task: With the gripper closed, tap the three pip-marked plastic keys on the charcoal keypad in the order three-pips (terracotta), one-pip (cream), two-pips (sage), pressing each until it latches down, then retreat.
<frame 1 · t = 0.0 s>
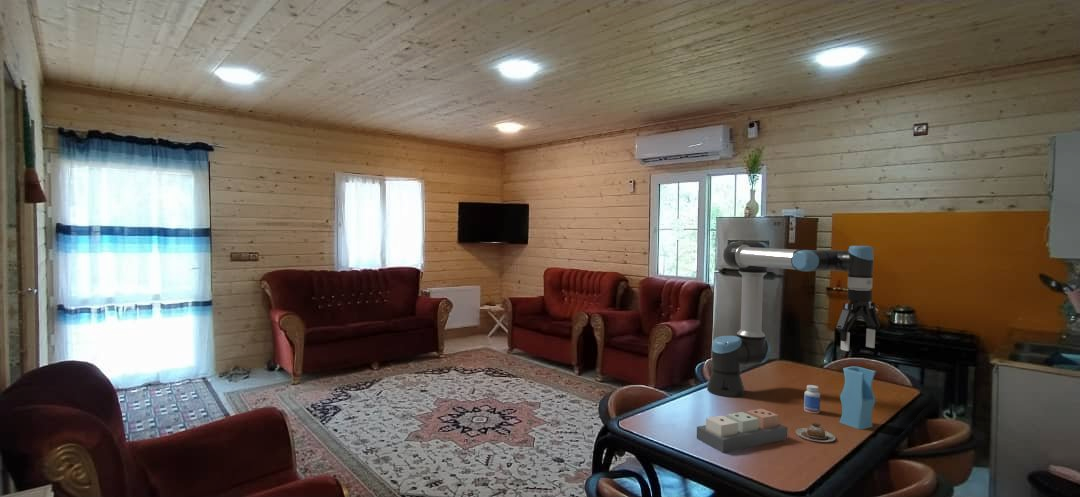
hand: (857, 348, 187), 28 cm above the table, fingers open, 13 cm apart
key 1: (721, 426, 172), point 6 cm above the table, slide at 0.0 cm
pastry: (815, 438, 179), on the table
key 2: (742, 422, 176), point 6 cm above the table, slide at 0.0 cm
keypad: (741, 438, 176), on the table
key 3: (762, 418, 179), point 6 cm above the table, slide at 0.0 cm
vase: (856, 425, 191), on the table
pill bottle: (811, 411, 204), on the table
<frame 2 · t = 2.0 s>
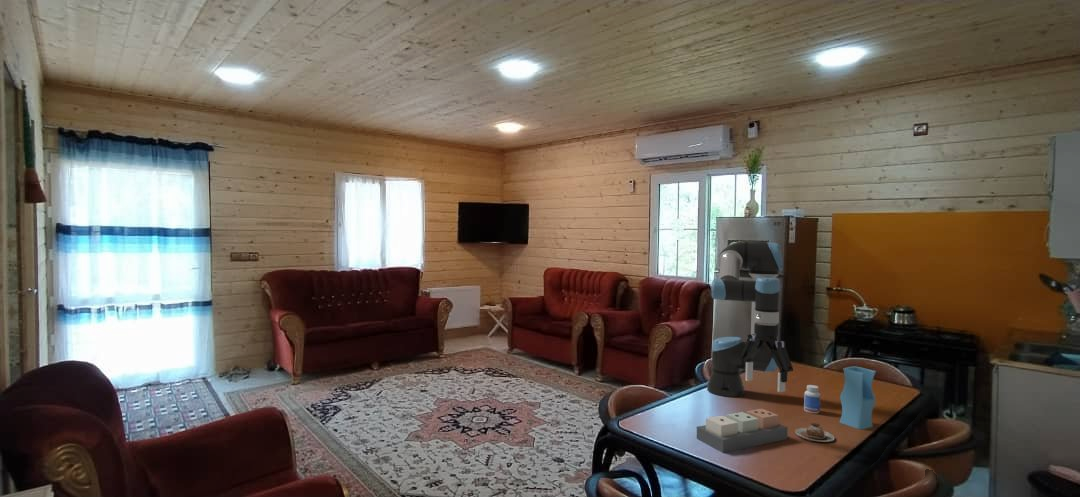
hand: (764, 385, 179), 17 cm above the table, fingers open, 13 cm apart
nothing on the table moved.
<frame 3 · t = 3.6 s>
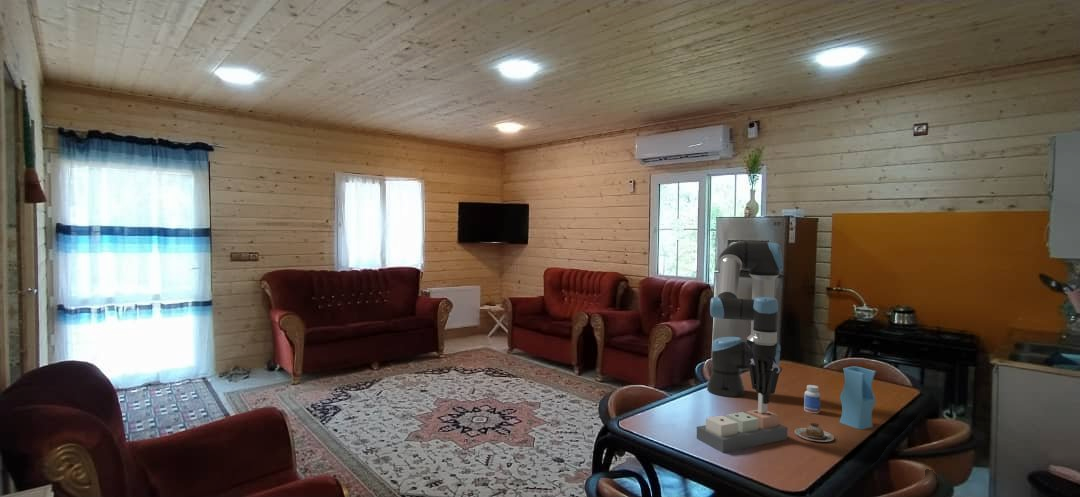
hand: (762, 412, 179), 8 cm above the table, fingers closed
key 3: (762, 418, 179), point 6 cm above the table, slide at 0.1 cm, touching gripper
everything else where it was.
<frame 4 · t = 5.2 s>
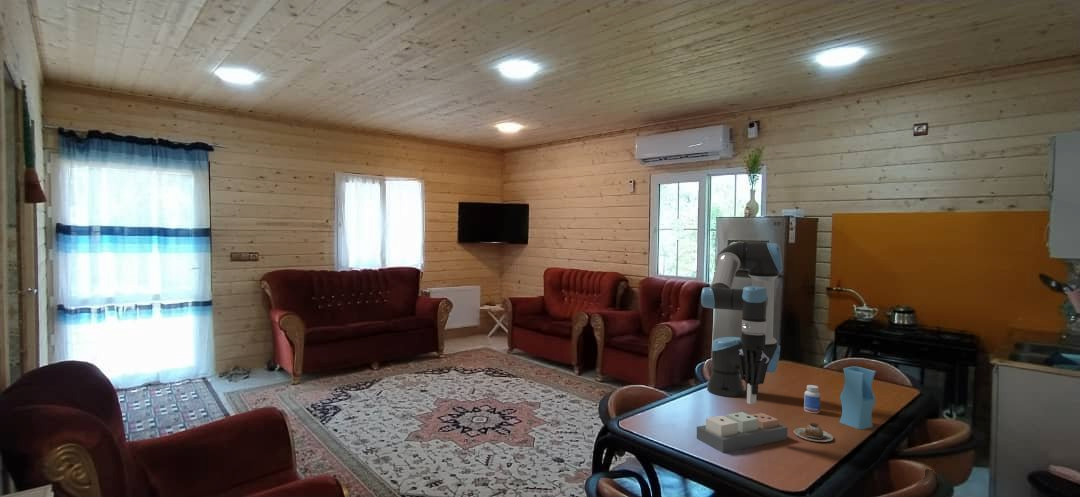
hand: (751, 403, 177), 12 cm above the table, fingers closed
key 3: (762, 423, 179), point 4 cm above the table, slide at 1.5 cm
everything else where it was.
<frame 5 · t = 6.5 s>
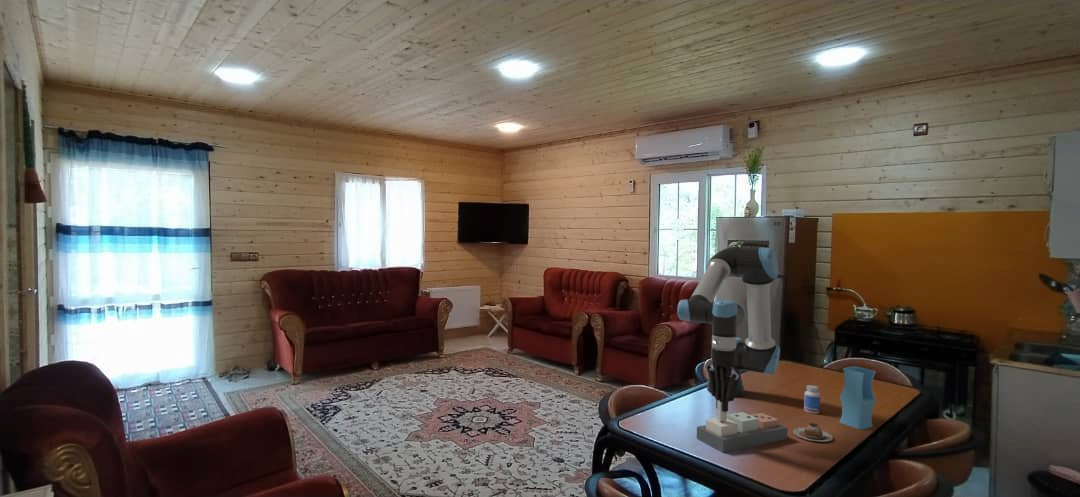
hand: (721, 420, 172), 8 cm above the table, fingers closed
key 1: (721, 427, 172), point 5 cm above the table, slide at 0.4 cm, touching gripper
everything else where it was.
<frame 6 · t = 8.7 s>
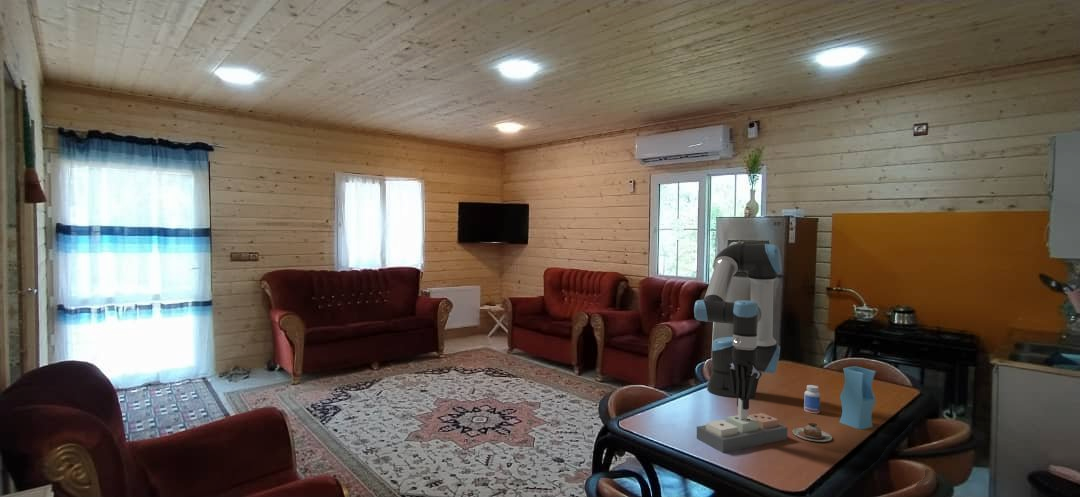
hand: (742, 417, 176), 7 cm above the table, fingers closed
key 1: (721, 430, 172), point 4 cm above the table, slide at 1.5 cm
key 2: (742, 424, 176), point 5 cm above the table, slide at 0.8 cm, touching gripper
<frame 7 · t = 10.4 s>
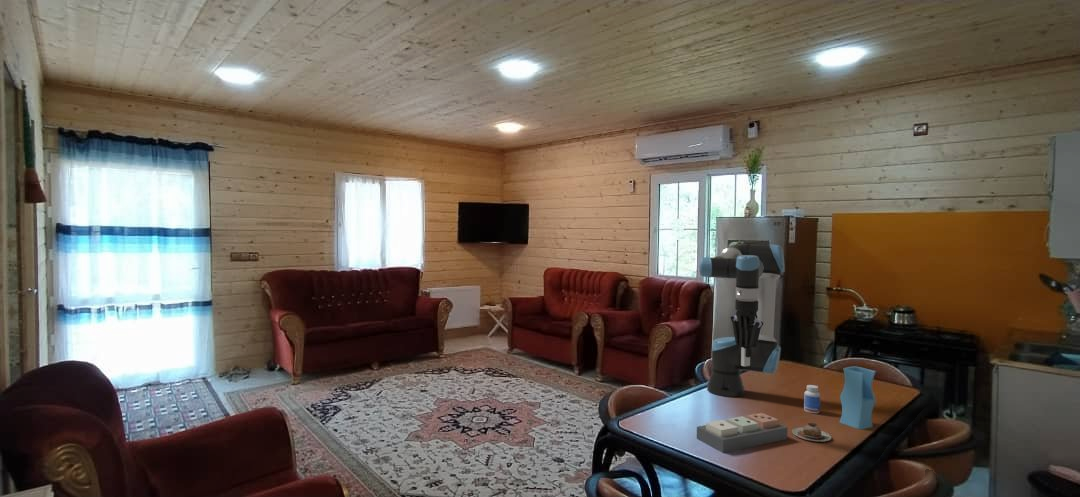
hand: (745, 365, 187), 22 cm above the table, fingers closed
key 2: (742, 426, 176), point 4 cm above the table, slide at 1.5 cm
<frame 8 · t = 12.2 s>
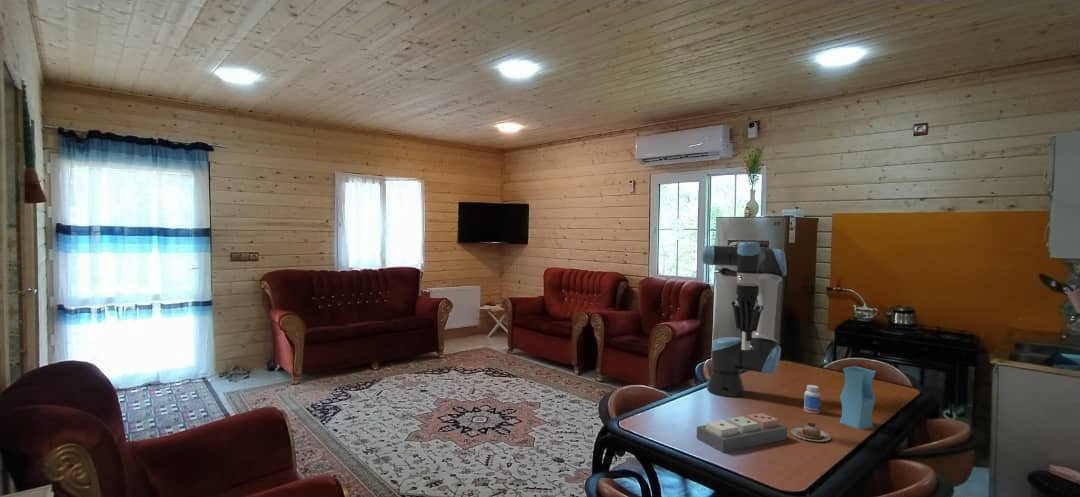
hand: (745, 349, 191), 26 cm above the table, fingers closed
at the end: key 3 slide at 1.5 cm; key 1 slide at 1.5 cm; key 2 slide at 1.5 cm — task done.
